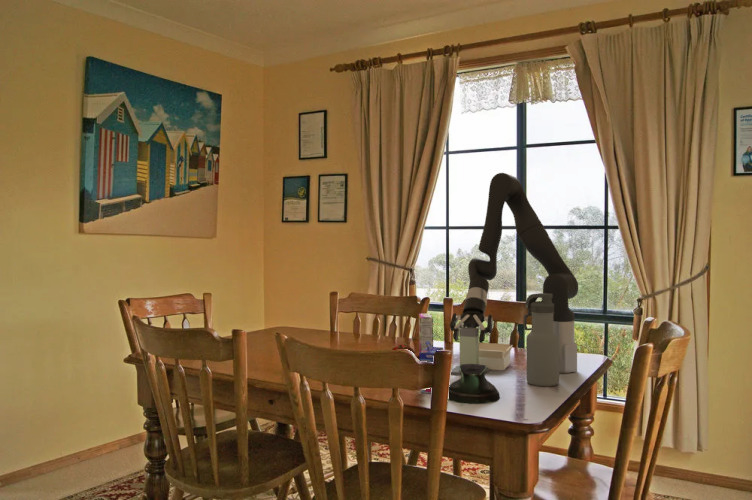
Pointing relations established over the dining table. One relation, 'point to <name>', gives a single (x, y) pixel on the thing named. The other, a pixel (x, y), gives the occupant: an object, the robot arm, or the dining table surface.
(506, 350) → the cream storage bin
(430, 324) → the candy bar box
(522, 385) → the dining table surface
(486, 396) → the dark green flared pedestal
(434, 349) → the ink cartridge box
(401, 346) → the dragon fruit
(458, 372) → the felt mat
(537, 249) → the robot arm
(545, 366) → the water bottle
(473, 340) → the sage box
